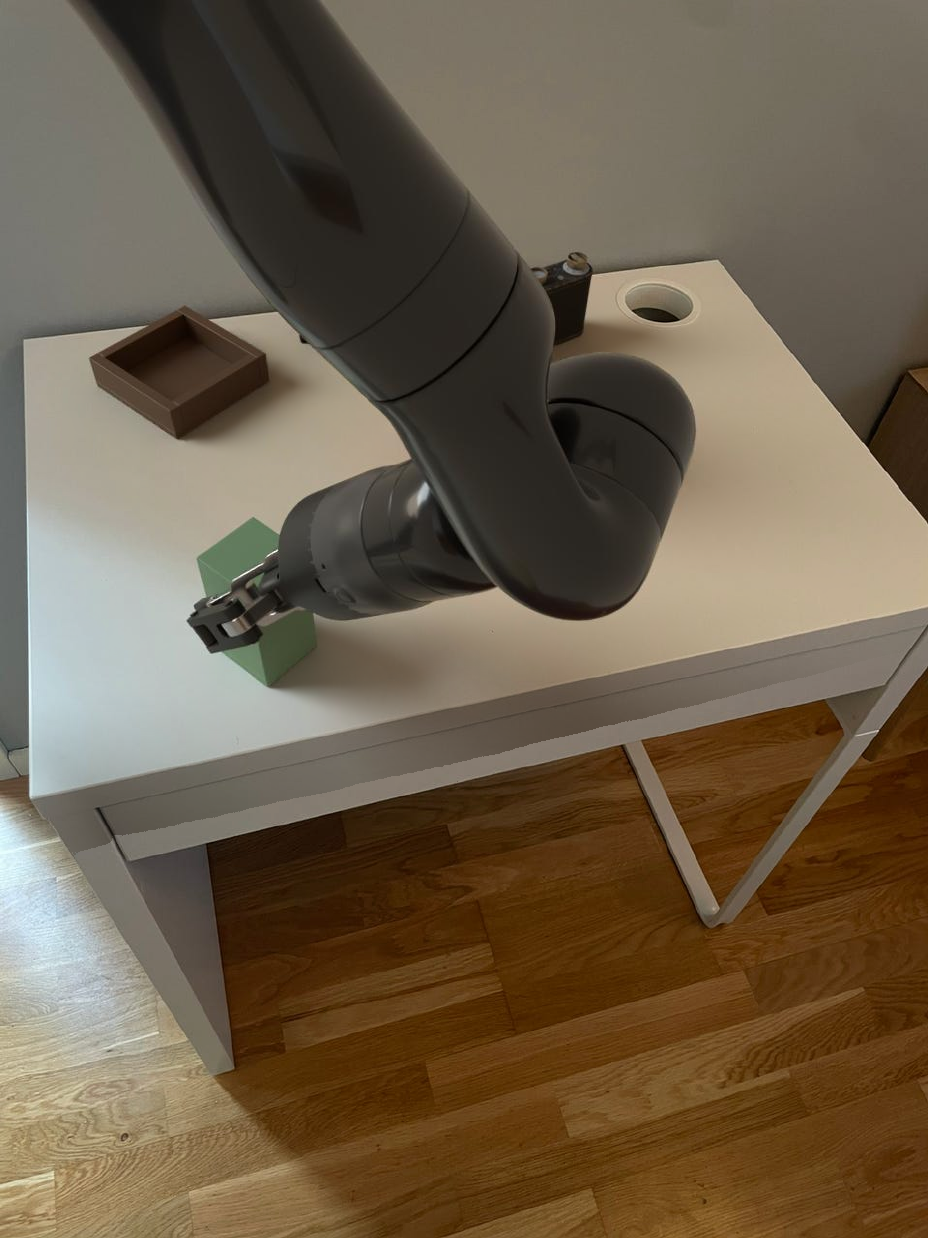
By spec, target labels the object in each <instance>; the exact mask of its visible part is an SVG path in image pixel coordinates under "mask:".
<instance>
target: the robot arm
mask: <svg viewBox="0 0 928 1238" xmlns="http://www.w3.org/2000/svg"><path fill="white" fill-rule="evenodd" d="M64 1H65V2H66V4H67V5H68V6H69V7H70V8H71V10H72V12H74V13H75V15H76V16H77V17H78V18H79V20H80V21H81V22H82V24H83V25H84V26H85V28H86V29H87V31H88V32H89V34H90V36H92V37H93V39H94V40H95V42H96V43H97V44H98V46H99V47H100V48H101V50H102V51H103V53H104V54H105V55H106V57H107V58H108V60H109V61H110V62H111V63H112V65H113V66H114V68H115V69H116V71H117V73H118V74H119V76H120V77H121V79H122V80H123V82H124V83H125V86H126V87H127V88H128V90H129V91H130V92H131V94H132V96H133V98H134V99H135V100H136V102H137V103H138V105H139V106H140V108H141V110H142V111H143V112H144V114H145V116H146V117H147V119H148V121H149V123H150V125H151V126H152V128H153V130H154V131H155V133H156V135H157V137H158V138H159V140H160V142H161V144H162V145H163V147H164V149H165V150H166V152H167V154H168V156H169V158H170V159H171V161H172V163H173V165H174V166H175V168H176V170H177V171H178V173H179V175H180V177H181V178H182V180H183V181H184V183H185V185H186V186H187V188H188V190H189V191H190V193H191V195H192V197H193V198H194V200H195V201H196V204H197V205H198V207H199V208H200V210H201V212H202V213H203V215H204V217H205V218H206V220H207V221H208V222H209V224H210V225H211V227H212V228H213V230H214V232H215V233H216V235H217V236H218V238H219V239H220V240H221V242H222V243H223V245H224V246H225V248H226V249H227V252H229V253H230V255H231V256H232V257H233V259H234V260H235V262H236V263H237V264H238V265H239V267H240V269H242V272H244V274H245V275H246V276H247V278H248V279H249V281H250V282H251V283H252V284H253V286H254V287H255V288H256V289H257V290H258V291H259V292H260V294H261V295H262V296H263V297H264V299H265V300H266V301H267V302H268V303H269V305H271V306H272V308H273V309H274V310H275V311H276V312H277V313H278V314H279V315H280V316H281V318H283V320H284V321H285V322H286V323H287V324H288V325H289V326H290V327H291V328H292V329H293V330H294V331H295V332H296V333H297V334H299V335H301V336H302V337H303V338H304V339H305V340H306V341H307V343H308V344H309V345H310V346H311V348H313V349H314V350H315V351H316V352H317V353H318V354H319V355H320V356H321V357H322V358H323V359H325V360H326V362H327V363H328V364H329V365H330V366H331V367H333V369H335V370H336V371H337V372H338V373H339V374H340V375H341V376H342V377H343V378H344V379H345V380H346V381H347V382H348V383H349V384H351V386H352V387H353V388H355V390H356V391H358V392H359V393H360V394H361V395H363V397H364V398H365V399H366V400H367V401H368V402H369V403H370V404H371V405H372V406H373V407H375V409H377V410H378V411H379V412H380V413H381V414H382V415H383V416H384V417H385V418H386V420H387V421H388V422H389V423H390V424H391V426H392V427H393V429H394V430H395V432H396V434H397V436H398V437H399V438H400V441H401V442H402V444H403V446H404V448H405V450H406V451H407V454H408V455H409V457H410V458H409V459H407V460H404V461H402V462H399V463H397V464H396V463H395V464H389V465H382V466H378V467H375V468H371V469H368V470H366V471H363V472H361V473H359V474H356V475H353V476H351V477H349V478H347V479H344V480H342V481H339V482H337V483H334V484H332V485H329V486H327V487H324V488H322V489H320V490H317V491H315V492H313V493H310V494H308V495H306V496H305V497H304V498H302V499H301V500H300V501H298V502H297V503H296V504H295V505H294V506H293V507H292V508H291V510H290V511H289V513H288V514H287V516H286V517H285V518H284V519H285V520H284V521H283V523H282V526H281V529H280V532H279V535H280V536H279V542H278V547H276V548H274V549H273V550H272V551H271V552H270V553H269V554H268V555H267V556H266V558H265V559H263V560H262V561H260V562H258V563H256V564H254V565H253V566H251V567H249V568H247V569H246V570H244V571H242V572H241V573H240V574H239V575H238V576H237V577H236V578H235V579H234V580H233V581H232V582H231V588H229V589H227V590H225V591H224V592H222V593H220V594H215V595H213V596H209V597H206V596H205V597H203V598H201V599H200V600H199V601H197V602H196V603H194V604H193V608H194V610H195V611H193V612H192V613H190V614H189V617H187V619H186V623H187V624H188V626H189V627H190V628H192V630H193V631H194V633H196V635H197V636H198V637H199V639H200V640H201V642H202V643H203V644H204V646H205V648H206V650H207V651H208V652H209V653H210V655H213V654H217V653H223V652H222V651H226V650H231V649H236V648H240V647H245V646H249V645H251V644H252V645H253V644H255V643H257V642H258V641H259V640H260V638H261V637H262V636H263V632H262V631H261V629H260V628H259V627H258V625H259V626H261V627H266V626H268V625H270V624H272V623H274V622H276V621H278V620H280V619H282V618H283V617H285V616H287V615H289V614H291V613H293V612H295V611H297V610H299V611H305V610H308V611H310V612H312V613H313V615H316V616H319V617H321V618H324V619H326V620H327V619H328V620H331V621H340V622H341V621H342V622H343V621H344V622H345V621H353V620H359V619H360V620H361V619H367V618H371V617H378V616H379V617H380V616H384V615H385V616H386V615H390V614H396V613H402V612H408V611H413V610H416V609H419V608H420V609H421V608H423V607H425V606H428V605H430V604H432V603H434V602H439V601H443V600H449V599H455V598H461V597H466V596H467V597H468V596H472V595H477V594H481V593H485V592H489V591H492V590H494V589H496V588H498V589H499V590H500V591H502V592H503V593H504V594H506V595H507V596H508V597H509V598H511V599H512V600H514V601H515V602H516V603H518V604H520V605H521V606H523V607H525V608H527V609H529V610H531V611H532V612H534V613H537V614H540V615H542V616H545V617H549V618H552V619H556V620H561V621H569V622H570V621H571V622H572V621H573V622H586V621H592V620H597V619H601V618H605V617H608V616H610V615H612V614H614V613H616V612H618V611H620V610H621V609H622V608H624V607H625V606H627V605H628V604H629V603H630V602H631V601H632V600H633V599H634V598H635V596H636V595H637V594H638V593H639V591H640V590H641V588H642V586H643V584H644V583H645V581H646V579H647V577H648V575H649V573H650V571H651V569H652V566H653V563H654V560H655V557H656V556H657V552H658V550H659V547H660V545H661V542H662V539H663V536H664V534H665V531H666V528H667V526H668V523H669V520H670V517H671V514H672V512H673V509H674V506H675V503H676V501H677V498H678V496H679V493H680V490H681V487H682V486H683V483H684V481H685V478H686V475H687V473H688V470H689V467H690V464H691V461H692V458H693V455H694V451H695V445H696V444H695V443H696V438H697V425H696V415H695V410H694V408H693V404H692V402H691V400H690V398H689V396H688V394H687V393H686V391H685V389H684V388H683V387H682V384H680V383H679V382H678V381H677V380H676V378H675V377H673V376H672V375H671V374H670V373H668V372H667V371H666V370H664V369H663V368H661V367H660V366H658V365H657V364H655V363H653V362H651V361H649V360H647V359H644V358H642V357H638V356H635V355H630V354H626V353H621V352H610V351H595V352H586V353H580V354H576V355H571V356H567V357H564V358H562V359H558V360H555V361H553V362H552V363H551V361H552V355H553V348H554V346H553V342H554V335H555V318H554V312H553V308H552V304H551V302H550V299H549V297H548V295H547V293H546V291H545V289H544V288H543V286H542V285H541V283H540V281H539V280H538V278H537V277H536V275H535V274H534V273H533V271H532V270H531V269H530V268H531V267H530V265H528V263H527V262H526V261H525V259H524V258H523V257H522V255H521V254H520V253H519V251H518V250H517V249H515V246H514V245H513V244H512V243H511V241H510V240H509V239H508V237H506V235H505V234H504V232H503V231H502V230H501V229H500V228H499V227H498V225H497V224H496V223H495V221H494V220H493V219H492V217H491V216H490V215H489V213H487V211H486V210H485V209H484V207H483V206H482V205H481V204H480V203H479V201H478V199H476V197H475V196H474V195H473V193H472V192H471V191H470V190H469V189H468V187H466V185H465V184H464V182H463V181H462V180H461V178H460V177H459V176H458V174H456V172H455V171H454V170H453V169H452V167H451V166H450V165H449V164H448V163H447V161H446V160H445V159H444V157H443V156H442V155H441V154H440V153H439V151H438V150H437V149H436V148H435V146H434V145H433V144H432V143H431V141H429V139H428V138H427V136H426V135H425V134H424V133H423V131H422V130H421V129H420V128H419V127H418V125H417V124H416V123H415V122H414V120H413V119H412V117H411V116H410V115H409V114H408V113H407V111H406V110H405V109H404V107H402V105H401V104H400V102H399V101H398V100H397V99H396V98H395V96H394V95H393V94H392V92H391V91H390V90H389V88H388V87H387V86H386V85H385V83H384V82H383V81H382V79H381V78H380V76H379V75H377V73H376V72H375V70H374V69H373V68H372V66H371V65H370V64H369V63H368V61H367V60H366V59H365V57H364V56H363V55H362V53H361V52H360V51H359V49H357V47H356V46H355V44H354V43H353V42H352V41H351V39H350V37H349V35H347V34H346V32H345V30H344V29H343V28H342V26H341V25H340V24H339V22H338V21H337V19H336V18H335V17H334V15H333V14H332V13H331V11H330V10H329V8H328V7H327V6H326V4H325V3H324V1H323V0H64ZM262 573H264V574H263V576H262V579H261V581H260V583H259V586H258V587H257V586H256V585H255V583H254V581H253V578H255V577H257V576H259V575H260V574H262ZM238 598H239V599H240V600H241V601H242V602H243V604H244V606H243V604H242V603H241V602H240V600H239V599H238Z"/></svg>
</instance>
